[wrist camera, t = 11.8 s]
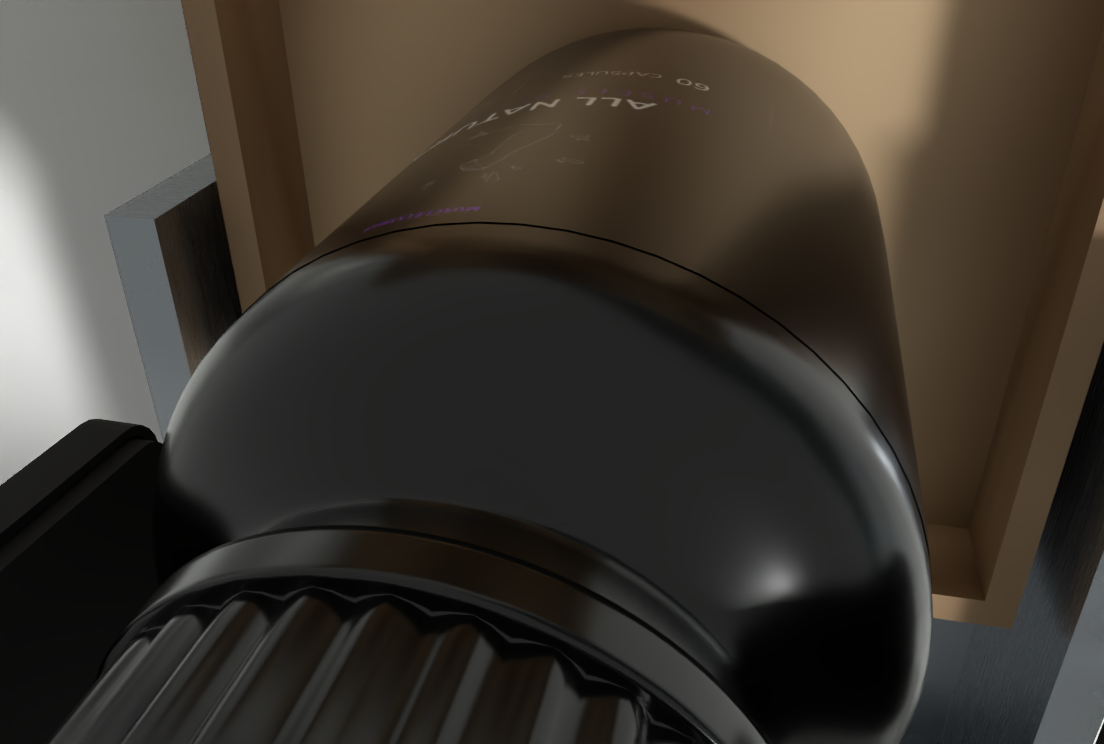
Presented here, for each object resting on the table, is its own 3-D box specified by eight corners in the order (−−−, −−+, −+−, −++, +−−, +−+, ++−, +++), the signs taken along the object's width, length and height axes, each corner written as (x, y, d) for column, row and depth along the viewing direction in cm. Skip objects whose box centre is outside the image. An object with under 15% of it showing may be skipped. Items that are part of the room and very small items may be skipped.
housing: (1148, 177, 15) (1273, 308, 11) (946, 819, 23) (976, 1027, 19) (257, 126, 18) (104, 215, 14) (355, 711, 26) (276, 870, 22)
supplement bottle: (618, -91, 13) (-42, 260, 3) (979, 224, 14) (1447, 1309, 4) (373, 258, 16) (-304, 962, 6) (675, 489, 18) (503, 1410, 7)
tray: (1466, -713, 9) (2633, -1631, 3) (1056, 535, 17) (1188, 914, 11) (103, -572, 12) (-551, -929, 6) (287, 438, 20) (74, 699, 14)
